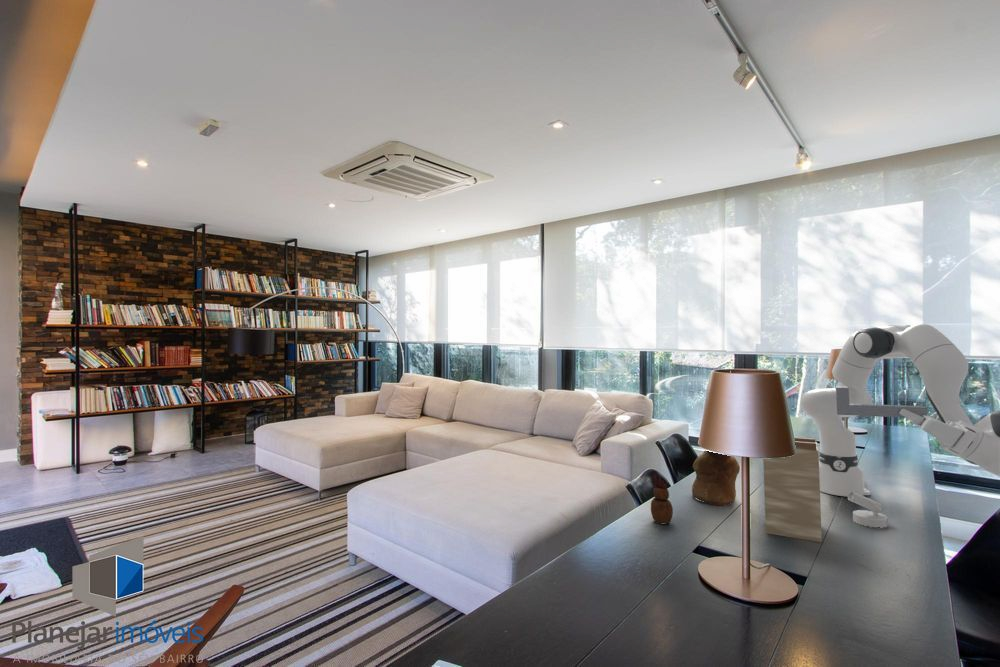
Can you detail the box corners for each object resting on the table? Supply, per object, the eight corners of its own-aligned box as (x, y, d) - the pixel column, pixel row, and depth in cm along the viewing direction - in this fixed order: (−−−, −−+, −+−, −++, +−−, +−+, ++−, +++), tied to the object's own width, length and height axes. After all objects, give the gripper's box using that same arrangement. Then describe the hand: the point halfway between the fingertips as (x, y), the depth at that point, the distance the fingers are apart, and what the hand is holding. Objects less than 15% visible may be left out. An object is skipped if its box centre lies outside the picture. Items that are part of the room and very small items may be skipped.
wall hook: (841, 487, 155) (876, 488, 153) (842, 517, 155) (877, 518, 153) (855, 495, 146) (893, 497, 144) (857, 527, 146) (894, 529, 144)
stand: (767, 517, 155) (764, 431, 156) (819, 525, 148) (816, 435, 148) (765, 532, 143) (762, 439, 144) (821, 542, 136) (818, 443, 136)
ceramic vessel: (729, 492, 181) (726, 414, 182) (754, 513, 159) (751, 423, 160) (686, 492, 183) (684, 414, 183) (705, 512, 161) (702, 423, 162)
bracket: (836, 413, 142) (835, 386, 142) (924, 417, 131) (923, 388, 132) (837, 414, 139) (836, 387, 140) (927, 418, 129) (926, 389, 129)
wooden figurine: (647, 520, 155) (646, 474, 155) (660, 517, 157) (659, 471, 158) (663, 527, 149) (662, 479, 149) (676, 524, 151) (675, 476, 152)
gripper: (954, 422, 135) (898, 396, 141) (978, 434, 117) (913, 404, 124) (940, 440, 136) (885, 414, 143) (962, 455, 119) (898, 424, 125)
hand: (898, 409), depth 133 cm, fingers closed on bracket, 3 cm apart
